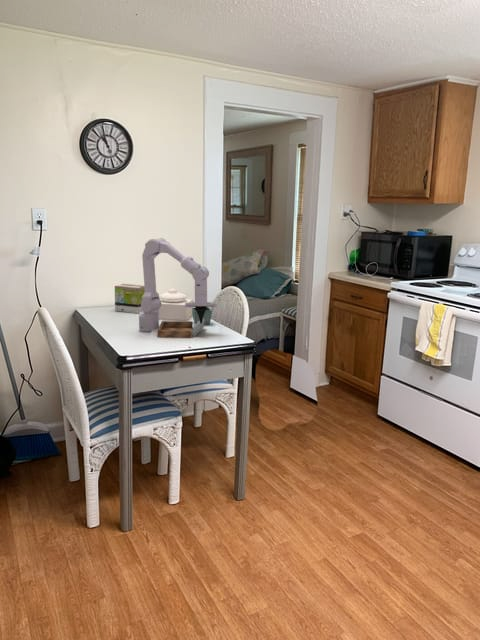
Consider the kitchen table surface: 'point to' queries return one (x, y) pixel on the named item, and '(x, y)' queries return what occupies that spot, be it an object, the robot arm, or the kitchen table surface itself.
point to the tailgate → (198, 327)
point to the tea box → (129, 298)
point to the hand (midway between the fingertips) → (201, 322)
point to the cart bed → (175, 329)
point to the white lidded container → (174, 306)
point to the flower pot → (206, 316)
